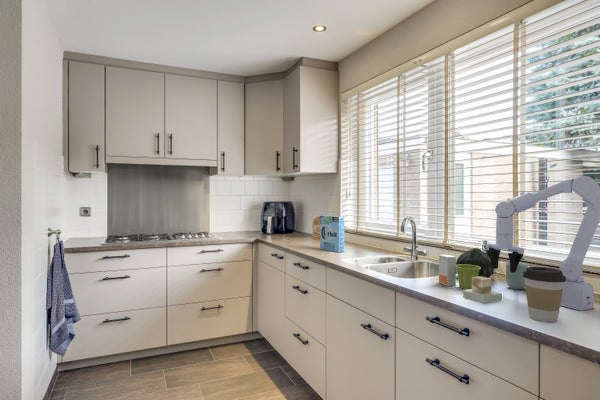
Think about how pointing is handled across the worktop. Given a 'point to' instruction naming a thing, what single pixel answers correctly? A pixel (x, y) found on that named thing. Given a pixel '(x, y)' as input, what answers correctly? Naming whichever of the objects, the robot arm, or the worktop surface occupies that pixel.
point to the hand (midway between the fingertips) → (503, 270)
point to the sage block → (482, 296)
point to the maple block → (481, 285)
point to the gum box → (332, 233)
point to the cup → (516, 276)
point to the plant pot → (467, 275)
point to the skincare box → (447, 270)
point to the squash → (477, 261)
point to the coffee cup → (544, 292)
